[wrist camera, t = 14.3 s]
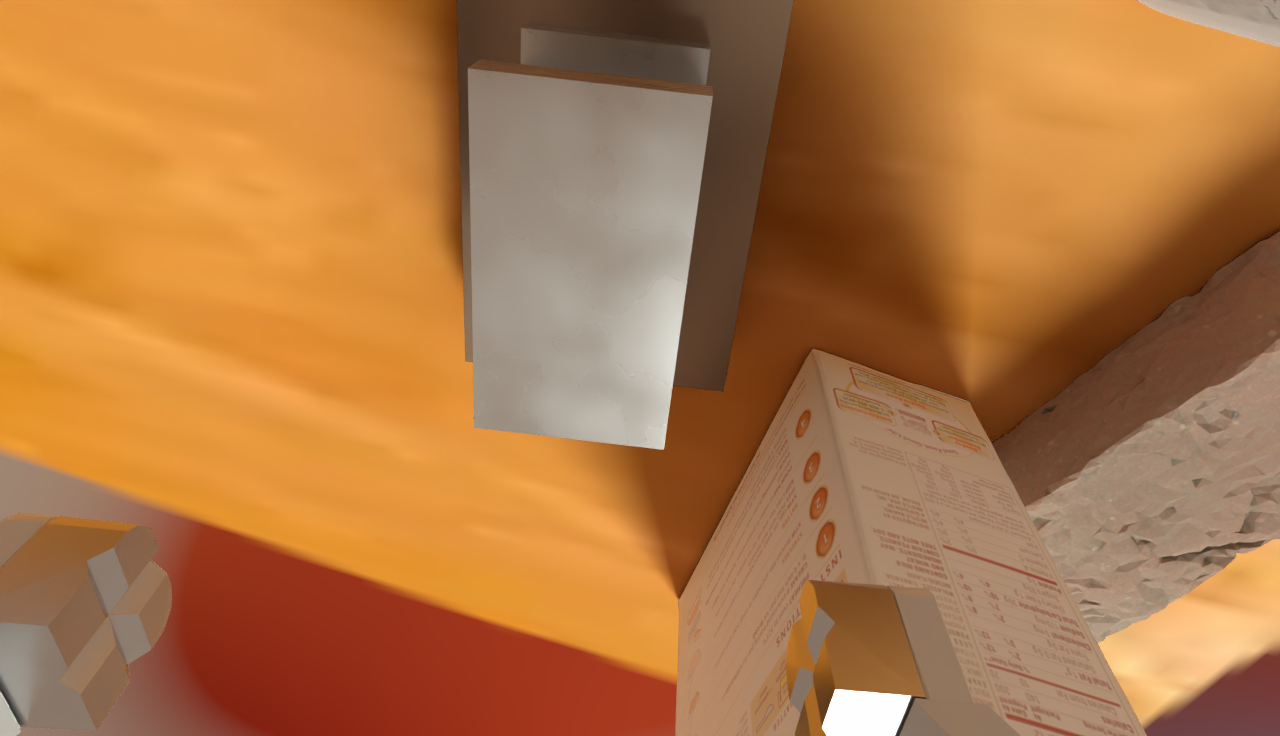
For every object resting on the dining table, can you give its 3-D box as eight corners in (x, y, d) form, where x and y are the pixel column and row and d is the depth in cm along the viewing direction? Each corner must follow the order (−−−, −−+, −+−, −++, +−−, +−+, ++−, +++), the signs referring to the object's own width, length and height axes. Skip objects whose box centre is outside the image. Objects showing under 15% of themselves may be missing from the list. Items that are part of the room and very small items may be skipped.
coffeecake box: (811, 642, 38) (897, 1231, 21) (672, 601, 37) (646, 1180, 20) (980, 399, 30) (1319, 1021, 14) (809, 340, 29) (947, 927, 13)
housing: (528, 22, 22) (467, 68, 16) (710, 43, 22) (712, 96, 16) (522, 313, 26) (474, 427, 21) (672, 331, 26) (663, 449, 21)
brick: (1036, 589, 36) (1080, 678, 32) (908, 494, 33) (937, 576, 29) (1422, 343, 28) (1543, 417, 24) (1292, 199, 26) (1401, 255, 22)
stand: (485, 321, 30) (465, 361, 27) (482, -70, 23) (455, -64, 21) (721, 348, 30) (723, 391, 27) (787, -36, 23) (798, -26, 21)
